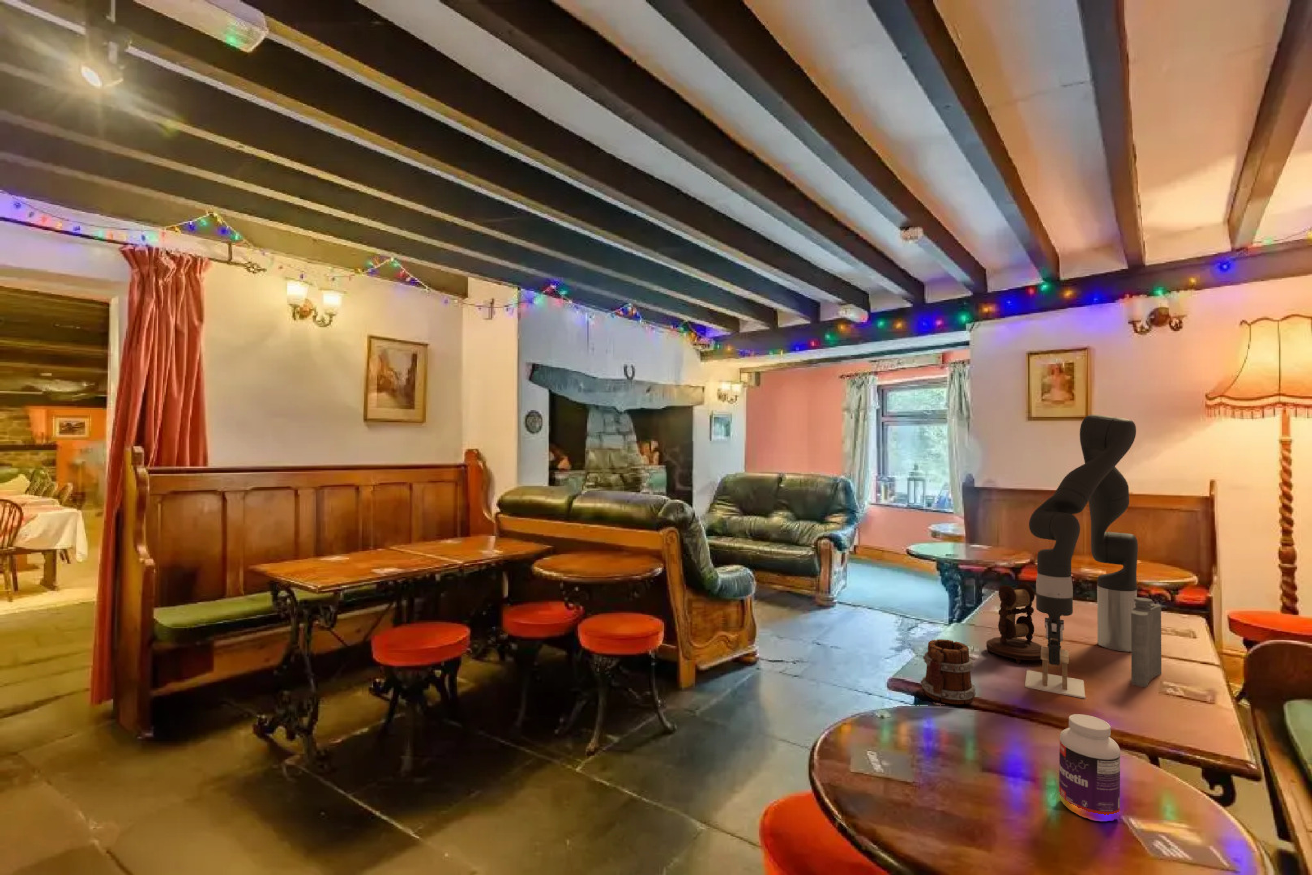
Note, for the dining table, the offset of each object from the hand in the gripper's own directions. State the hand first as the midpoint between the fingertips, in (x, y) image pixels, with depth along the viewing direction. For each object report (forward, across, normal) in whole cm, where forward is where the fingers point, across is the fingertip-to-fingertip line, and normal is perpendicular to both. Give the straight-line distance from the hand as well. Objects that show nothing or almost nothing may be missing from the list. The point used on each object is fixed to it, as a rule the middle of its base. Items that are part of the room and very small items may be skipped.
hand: (1054, 659), depth 149 cm
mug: (+7, -22, +21) cm, 31 cm away
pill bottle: (+7, -57, -5) cm, 58 cm away
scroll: (+7, +19, +9) cm, 22 cm away
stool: (+6, 0, 0) cm, 6 cm away
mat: (+6, +1, 0) cm, 7 cm away
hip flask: (+7, +19, -19) cm, 28 cm away
